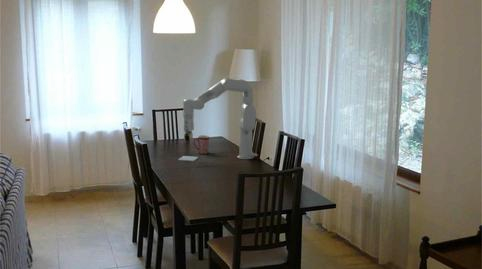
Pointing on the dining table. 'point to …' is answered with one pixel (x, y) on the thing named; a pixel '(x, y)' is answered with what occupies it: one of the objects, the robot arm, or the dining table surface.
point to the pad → (188, 158)
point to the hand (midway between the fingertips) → (188, 139)
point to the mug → (202, 144)
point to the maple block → (189, 136)
